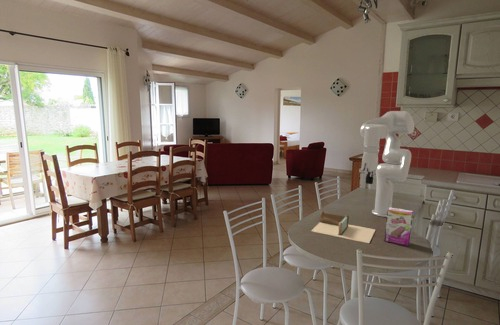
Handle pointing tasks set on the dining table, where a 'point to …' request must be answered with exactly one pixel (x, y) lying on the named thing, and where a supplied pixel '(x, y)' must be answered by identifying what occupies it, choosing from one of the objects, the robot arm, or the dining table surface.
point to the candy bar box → (398, 226)
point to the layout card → (346, 232)
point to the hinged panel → (342, 225)
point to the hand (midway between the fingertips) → (369, 183)
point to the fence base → (332, 218)
